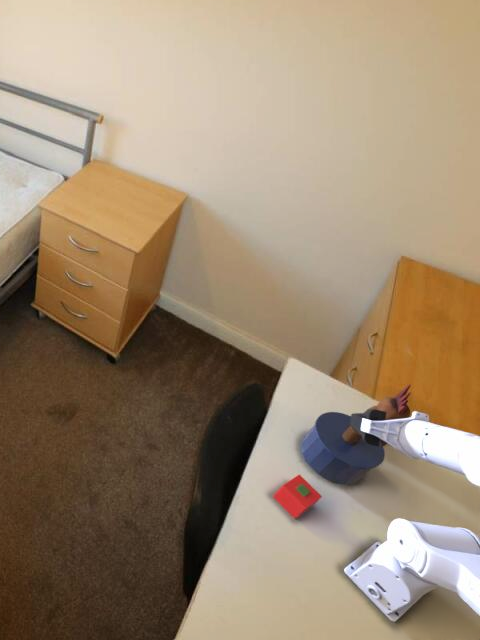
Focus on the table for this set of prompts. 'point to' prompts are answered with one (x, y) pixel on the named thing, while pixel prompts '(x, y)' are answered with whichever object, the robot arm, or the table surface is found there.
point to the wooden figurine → (395, 407)
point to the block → (297, 496)
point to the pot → (328, 462)
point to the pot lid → (347, 441)
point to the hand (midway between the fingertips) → (375, 425)
